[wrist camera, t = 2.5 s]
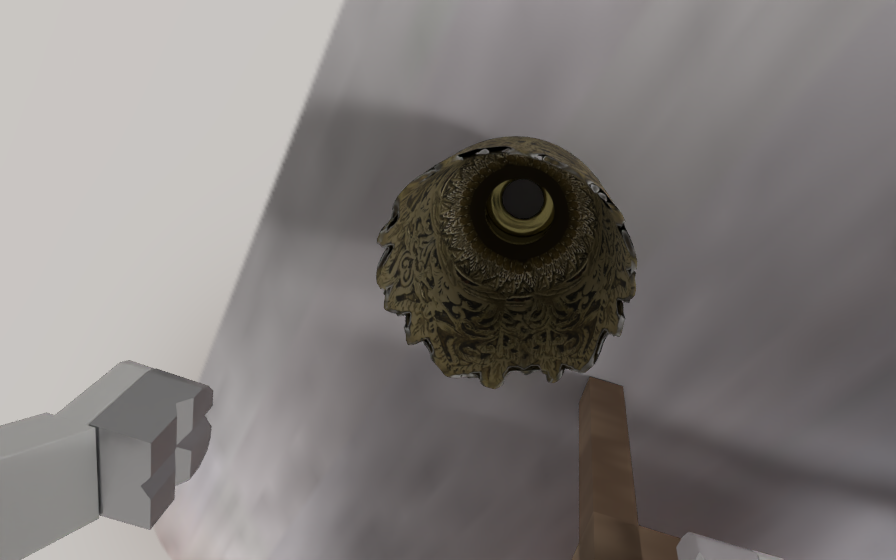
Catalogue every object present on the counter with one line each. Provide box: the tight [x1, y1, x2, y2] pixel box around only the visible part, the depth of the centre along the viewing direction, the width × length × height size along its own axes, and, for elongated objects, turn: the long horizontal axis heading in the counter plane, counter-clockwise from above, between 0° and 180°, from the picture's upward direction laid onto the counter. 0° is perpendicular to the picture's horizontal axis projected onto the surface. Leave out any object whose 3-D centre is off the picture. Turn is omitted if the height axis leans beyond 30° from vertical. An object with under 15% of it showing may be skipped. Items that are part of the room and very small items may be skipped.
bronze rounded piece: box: [376, 136, 637, 389], centre depth 21 cm, size 8×7×8 cm
